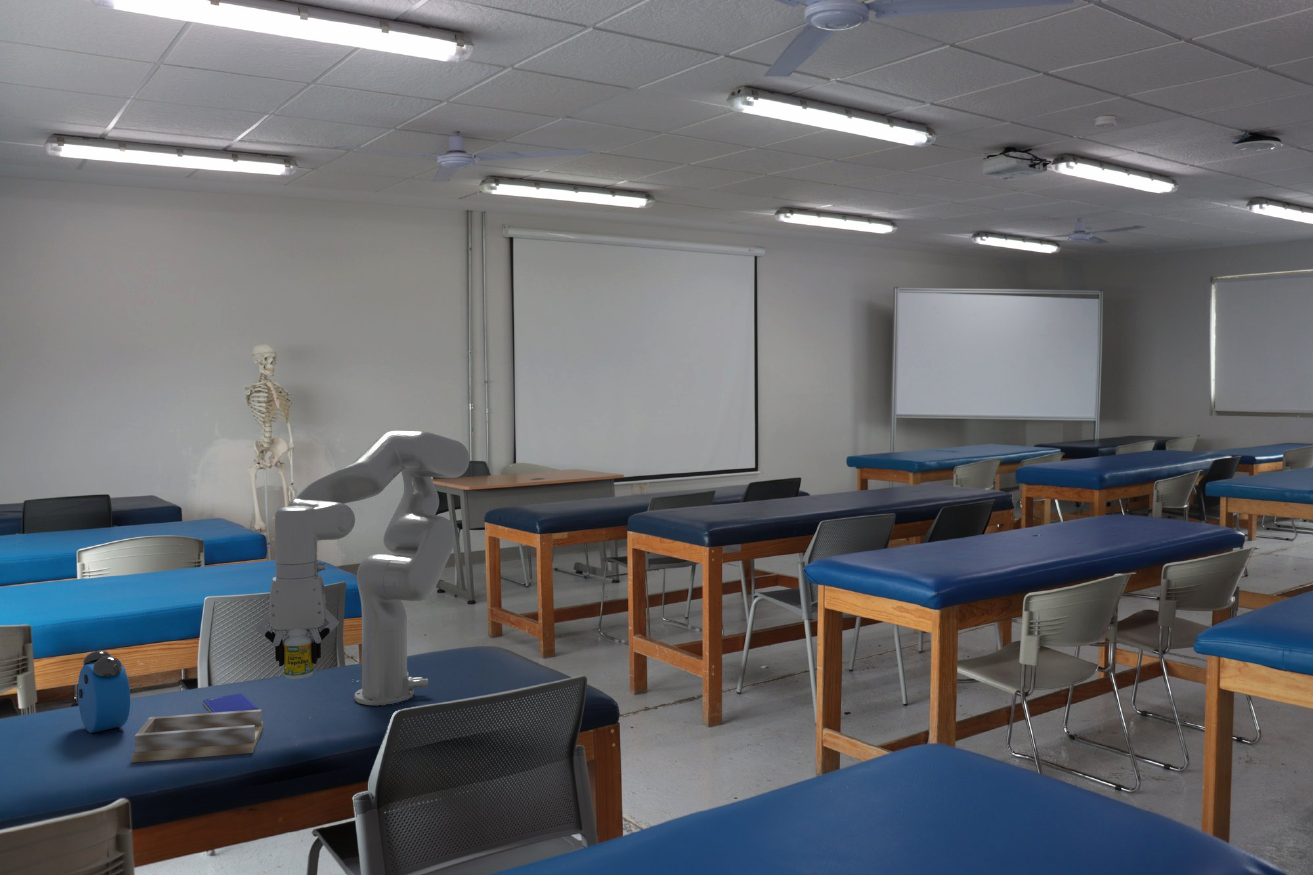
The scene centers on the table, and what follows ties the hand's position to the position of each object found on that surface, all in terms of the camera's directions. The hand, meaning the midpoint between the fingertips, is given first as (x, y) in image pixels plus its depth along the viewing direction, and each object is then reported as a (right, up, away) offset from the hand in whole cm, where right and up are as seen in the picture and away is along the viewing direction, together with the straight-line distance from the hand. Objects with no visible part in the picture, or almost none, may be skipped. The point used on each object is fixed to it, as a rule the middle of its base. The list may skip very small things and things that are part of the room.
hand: (298, 662), depth 181 cm
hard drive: (-21, -14, +16) cm, 30 cm away
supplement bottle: (0, -3, 0) cm, 3 cm away
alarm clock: (-39, -14, +3) cm, 42 cm away
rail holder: (-17, -14, -4) cm, 23 cm away
